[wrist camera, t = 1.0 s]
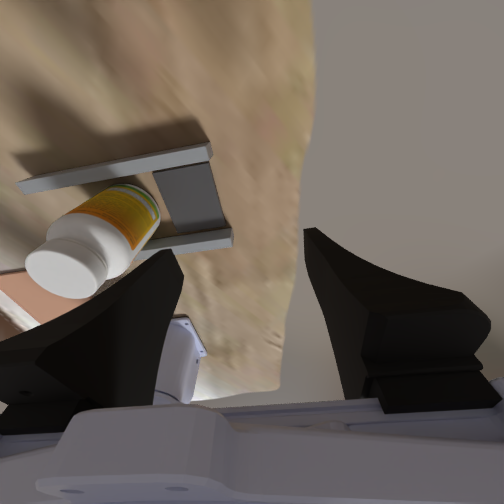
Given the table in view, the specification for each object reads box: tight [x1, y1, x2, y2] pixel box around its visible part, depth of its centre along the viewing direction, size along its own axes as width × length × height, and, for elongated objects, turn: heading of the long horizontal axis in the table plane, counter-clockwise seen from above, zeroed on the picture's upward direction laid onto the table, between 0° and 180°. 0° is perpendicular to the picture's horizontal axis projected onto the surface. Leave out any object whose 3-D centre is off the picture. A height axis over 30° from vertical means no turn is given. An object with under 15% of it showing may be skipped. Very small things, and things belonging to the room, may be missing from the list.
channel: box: [15, 142, 234, 261], centre depth 20 cm, size 9×16×2 cm, turn 100°
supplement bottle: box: [25, 184, 160, 299], centre depth 17 cm, size 5×5×10 cm
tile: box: [0, 270, 93, 325], centre depth 28 cm, size 10×10×1 cm
